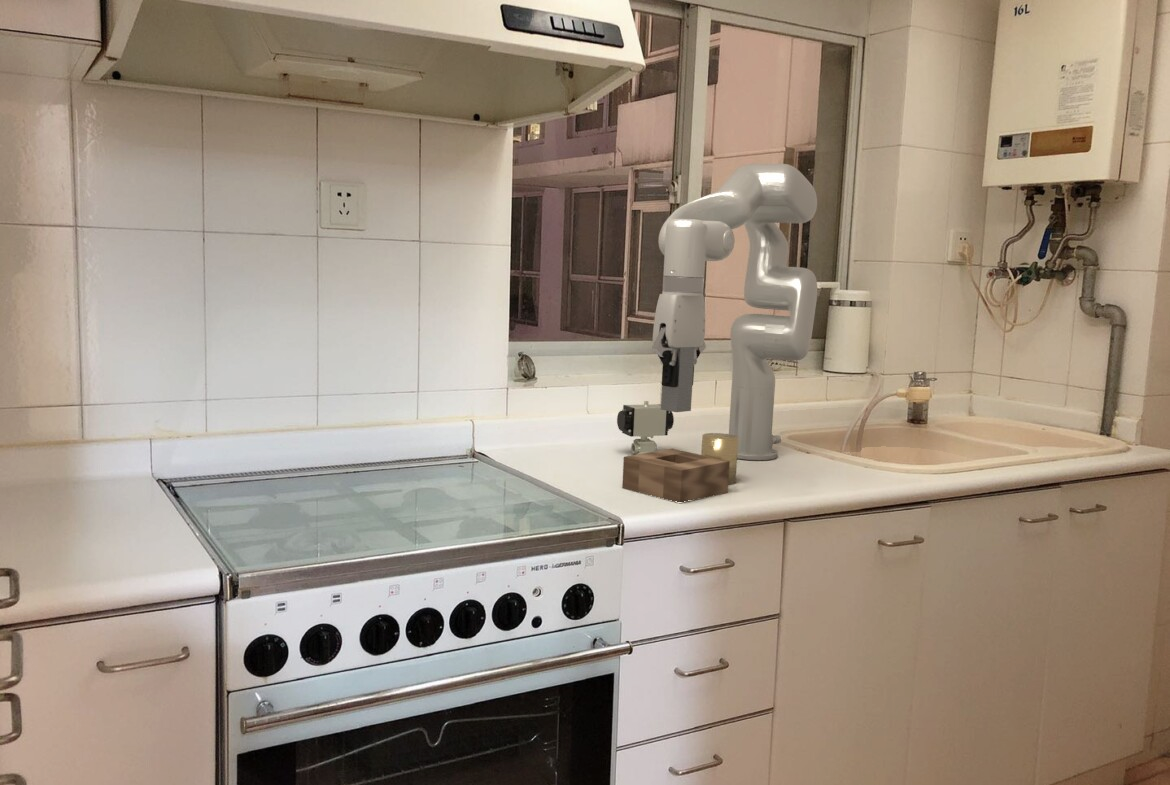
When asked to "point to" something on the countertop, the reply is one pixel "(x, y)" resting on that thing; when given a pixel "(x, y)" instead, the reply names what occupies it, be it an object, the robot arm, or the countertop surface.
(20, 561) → the countertop surface
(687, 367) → the square bit
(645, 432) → the pneumatic valve
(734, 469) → the round bit
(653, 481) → the bore block
